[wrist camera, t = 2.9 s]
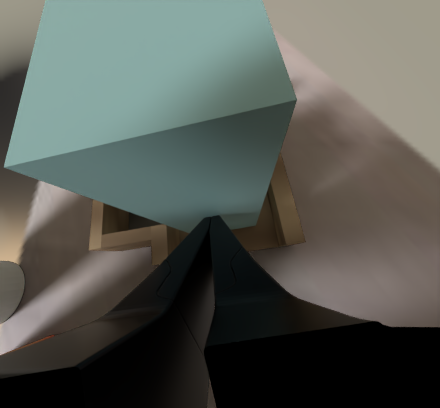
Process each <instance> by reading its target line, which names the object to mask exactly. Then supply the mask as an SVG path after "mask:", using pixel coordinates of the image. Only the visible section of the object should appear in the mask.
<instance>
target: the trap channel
mask: <svg viewBox="0 0 440 408" xmlns="http://www.w3.org/2000/svg"><path fill="white" fill-rule="evenodd" d="M231 231H232V232H233V233H234V235H235V236H236V237H237V239H238V240H239V241H240V243H241V244H242V245H243V247H244V248H245V249H246V251H254V250H261V249H267V248H274V247H281V246H287V245H294V244H299V243H304V242H306V241H305V237H304V234H303V230H302V227H301V223H300V220H299V216H298V213H297V209H296V205H295V202H294V198H293V195H292V191H291V188H290V184H289V181H288V177H287V174H286V170H285V167H284V163H283V159H282V156H281V152H280V153H279V156H278V159H277V162H276V165H275V168H274V172H273V175H272V178H271V181H270V184H269V187H268V190H267V193H266V196H265V199H264V202H263V205H262V208H261V211H260V214H259V217H258V220H257V223H256V226H251V227H245V228H239V229H233V230H231ZM188 234H189V233H187V232H184V231H181V230H178V229H176V228H173V227H170V226H167V225H164V224H162V223H159V222H156V221H153V220H150V219H148V218H145V217H142V216H139V215H136V214H134V213H131V212H128V211H125V210H122V209H119V208H117V207H114V206H111V205H108V204H105V203H103V202H100V201H97V200H94V199H93V201H92V214H91V227H90V240H89V250H96V251H124V250H130V249H136V248H142V247H149V246H151V252H152V265H158V264H161V263H162V262H163V261H164V260H165V259H166V258H167V257H168V255H169V254H170V253H171V252H172V251H173V250H174V249H175V248H176V247H177V246H178V245H179V244H180V243H181V242H182V241H183V240H184V238H185V237H186V236H187V235H188Z"/></svg>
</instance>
